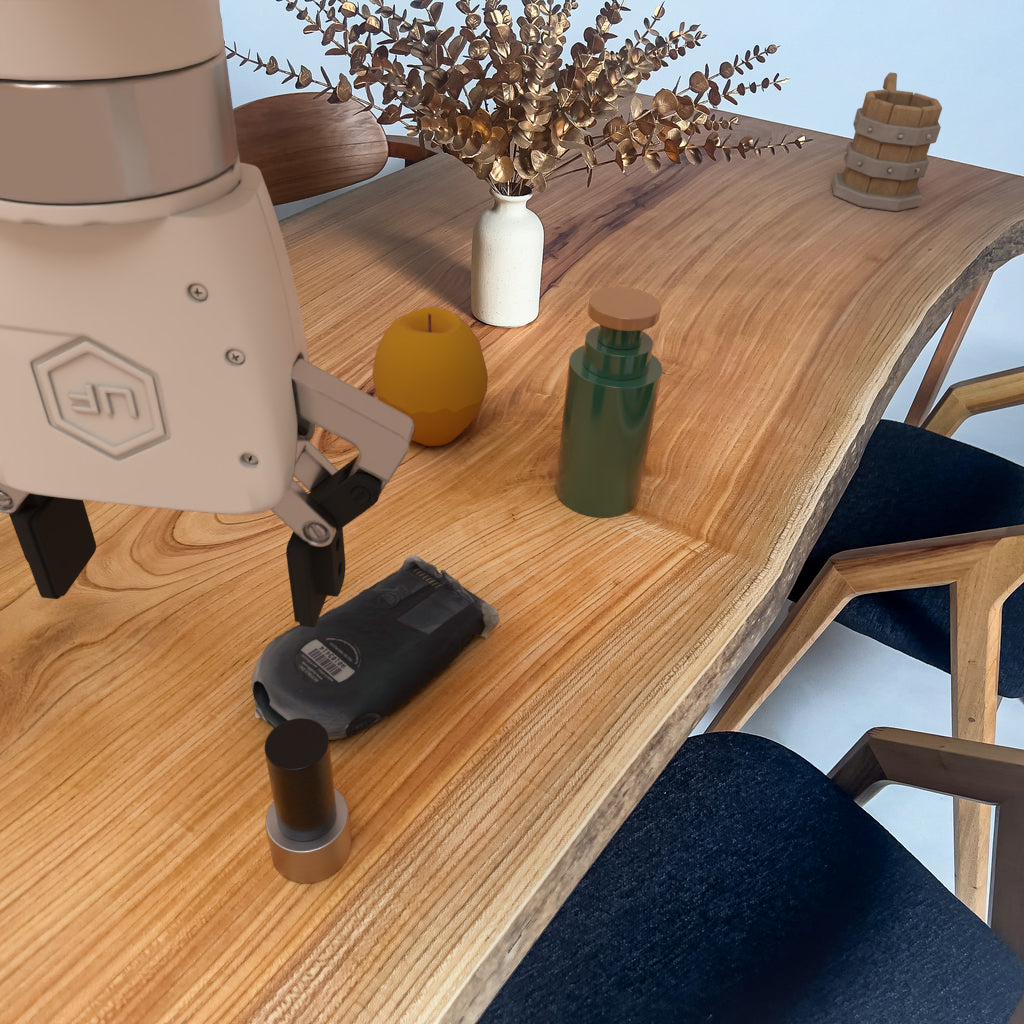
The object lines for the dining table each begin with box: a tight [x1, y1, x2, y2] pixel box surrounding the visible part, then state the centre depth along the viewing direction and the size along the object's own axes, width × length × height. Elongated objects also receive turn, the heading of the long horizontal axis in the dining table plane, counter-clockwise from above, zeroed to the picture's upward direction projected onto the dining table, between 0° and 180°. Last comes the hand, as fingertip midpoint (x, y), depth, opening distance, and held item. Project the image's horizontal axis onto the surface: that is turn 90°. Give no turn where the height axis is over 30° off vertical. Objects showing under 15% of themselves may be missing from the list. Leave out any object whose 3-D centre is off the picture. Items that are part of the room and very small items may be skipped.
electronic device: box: [251, 554, 501, 741], centre depth 58 cm, size 9×6×15 cm
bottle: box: [554, 286, 663, 518], centre depth 70 cm, size 7×7×17 cm
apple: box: [371, 306, 489, 447], centre depth 77 cm, size 10×10×12 cm
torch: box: [263, 718, 352, 884], centre depth 46 cm, size 4×4×9 cm
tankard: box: [831, 71, 943, 212], centre depth 137 cm, size 20×13×15 cm, turn 167°
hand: (193, 587), depth 35 cm, fingers open, 9 cm apart
